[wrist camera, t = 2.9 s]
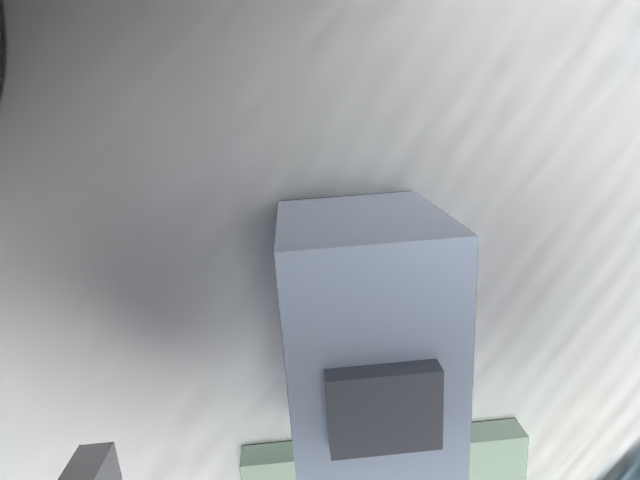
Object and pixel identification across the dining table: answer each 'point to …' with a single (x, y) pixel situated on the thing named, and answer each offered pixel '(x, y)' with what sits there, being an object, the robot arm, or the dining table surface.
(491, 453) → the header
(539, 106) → the dining table surface
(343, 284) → the plug
